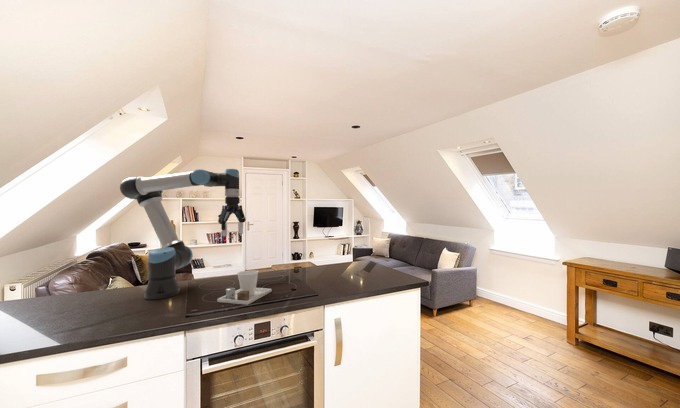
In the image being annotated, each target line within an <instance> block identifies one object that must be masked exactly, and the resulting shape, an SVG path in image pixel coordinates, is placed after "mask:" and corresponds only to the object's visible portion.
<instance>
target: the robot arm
mask: <svg viewBox="0 0 680 408" xmlns="http://www.w3.org/2000/svg"><path fill="white" fill-rule="evenodd" d="M199 186H204V187H208V188H212V187H224V196H225V198H224V200H225V201H224V203H225V204H226V205H222V206H221V208H222V209H221V212H220V215H219V217H218V221H217V222H218V224H220V225H221V236H222V237H228V223H227V222H228V220H229V218H230V217H231V215H233V214H234V215H235V217H236V219H237V221H238V222H237V226H238V227H237V233H238V234H244V223H245V222H246V221H247V219H246V217H245V213H244V210H243V206H242V205H239V204H240V202H241V199H240V171H239V169H237V168H226V169H224V172H212V171H208V170H205V169H200V168H198V169H195V170H192V171H186V172H178V173H172V174H171V173H170V174H164V175H163V174H162V175H157V176H150V177H149V176H148V177H144V176H143V175H142V176H132V177H127V178H125V179H123V180H122V181H121V182H120V186H119V191H120V193H121V194H122V195H123V197H125V198H127V199H130V200H136V202H137V204H138V205H139V207H142V208H143V209H144V211H145V213H146V215H147V217H148V219H149V222H150V223H151V226H152V227H153V231H154V232H155V234H156V236H157V238H158V240H159V242H160V245H161V247H159V248H155V249H152V250H150V251H149V252H148V256H147V263H148V265H147V266H148V268H147V269H148V272H147V273H148V283H147V286H146V289H145V291H144V299H146V300H161V299H167V298H171V297H174V296H177V295H179V293H180V290H181V289H180V287H179V285H178V281H177V278H176V270H178V269H182V268H184V267H186V266H188V265H189V264H190V263H191V262H192V260H193V258H194V257H193V251H192V249H191V248H190V247H189V246H187V245H185V243H184V240H181V239H179V238H178V235H177V233H176V231H175V229H174V227H173V225H172V222H171V220H170V218H169V216H168V214H167V212H166V209H165V207H164V205H163V203H162V200H163V196H162V195H163V191H168V190H169V191H170V190H175V189H183V188H189V187H199Z"/></svg>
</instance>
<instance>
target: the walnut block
mask: <svg viewBox="0 0 680 408" xmlns="http://www.w3.org/2000/svg"><path fill="white" fill-rule="evenodd" d="M237 300H243V301H248V300H249V291H240V292H239V293H237Z"/></svg>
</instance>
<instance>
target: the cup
mask: <svg viewBox="0 0 680 408" xmlns="http://www.w3.org/2000/svg"><path fill="white" fill-rule="evenodd" d="M236 274H237V278H238V281H239V283H238V284H239V289H240V288H241V291H249V297H251V296H254V295H255V291H256V288H257V283H258V277H259V275H258V274H259V270H255V269H254V270H253V269H252V270H243V271H238V272H237V273H236Z"/></svg>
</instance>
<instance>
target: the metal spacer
mask: <svg viewBox="0 0 680 408" xmlns="http://www.w3.org/2000/svg"><path fill="white" fill-rule="evenodd" d="M235 291H236V288H235V287H228V288H225V295H226V299H232V300H235Z"/></svg>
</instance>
